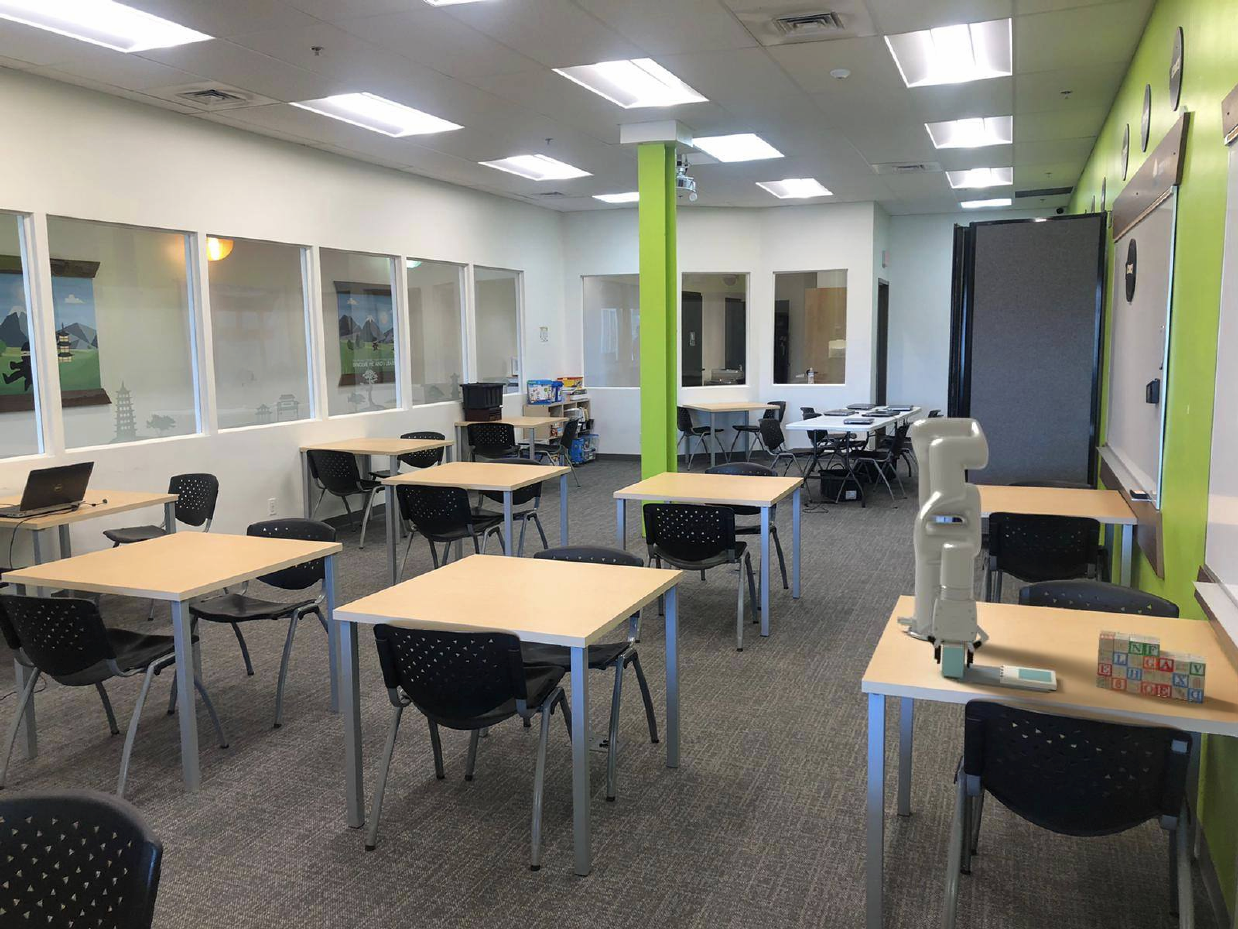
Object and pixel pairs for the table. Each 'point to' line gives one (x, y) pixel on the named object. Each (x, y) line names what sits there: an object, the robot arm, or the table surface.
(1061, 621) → the table surface
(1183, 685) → the stack of blocks
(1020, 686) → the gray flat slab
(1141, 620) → the table surface
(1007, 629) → the table surface
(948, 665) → the teal rectangular block
